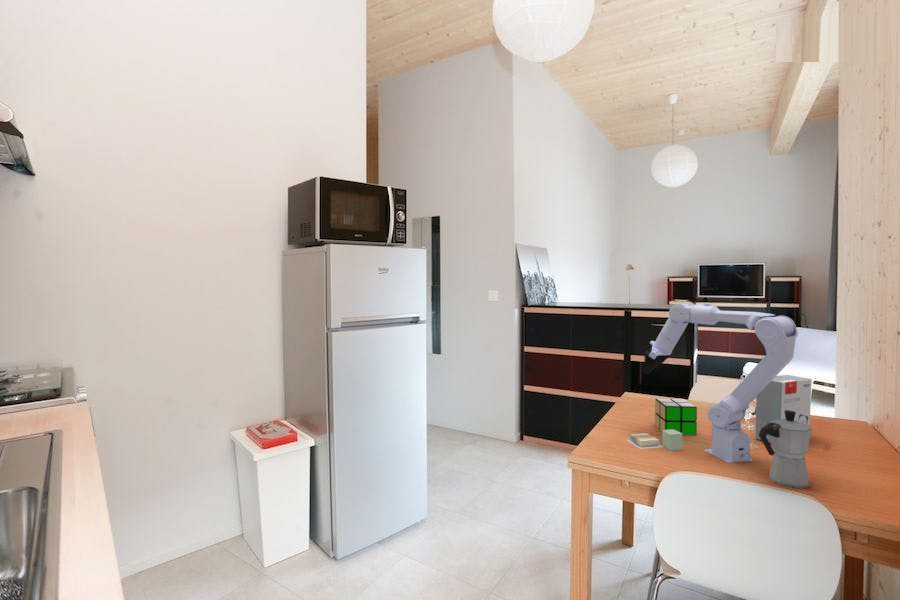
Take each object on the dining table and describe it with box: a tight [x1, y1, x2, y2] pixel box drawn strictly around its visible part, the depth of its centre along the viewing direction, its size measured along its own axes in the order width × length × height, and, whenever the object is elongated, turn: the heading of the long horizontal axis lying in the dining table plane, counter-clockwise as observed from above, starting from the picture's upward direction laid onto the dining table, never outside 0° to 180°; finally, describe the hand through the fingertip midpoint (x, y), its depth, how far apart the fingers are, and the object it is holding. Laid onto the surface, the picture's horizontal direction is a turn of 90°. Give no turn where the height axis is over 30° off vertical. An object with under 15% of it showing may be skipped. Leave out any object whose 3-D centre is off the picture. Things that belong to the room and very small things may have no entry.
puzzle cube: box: [654, 398, 698, 436], centre depth 151 cm, size 10×10×10 cm
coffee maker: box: [759, 410, 813, 489], centre depth 113 cm, size 15×9×18 cm, turn 99°
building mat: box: [625, 438, 664, 450], centre depth 139 cm, size 14×16×1 cm
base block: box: [629, 432, 660, 447], centre depth 139 cm, size 6×6×2 cm
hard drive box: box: [754, 374, 813, 445], centre depth 142 cm, size 16×8×20 cm, turn 112°
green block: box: [661, 429, 683, 452], centre depth 135 cm, size 4×4×5 cm
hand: (649, 369), depth 149 cm, fingers open, 7 cm apart
